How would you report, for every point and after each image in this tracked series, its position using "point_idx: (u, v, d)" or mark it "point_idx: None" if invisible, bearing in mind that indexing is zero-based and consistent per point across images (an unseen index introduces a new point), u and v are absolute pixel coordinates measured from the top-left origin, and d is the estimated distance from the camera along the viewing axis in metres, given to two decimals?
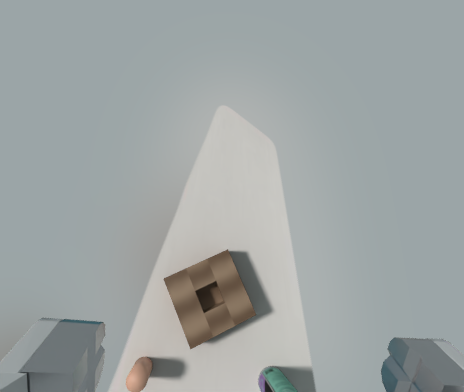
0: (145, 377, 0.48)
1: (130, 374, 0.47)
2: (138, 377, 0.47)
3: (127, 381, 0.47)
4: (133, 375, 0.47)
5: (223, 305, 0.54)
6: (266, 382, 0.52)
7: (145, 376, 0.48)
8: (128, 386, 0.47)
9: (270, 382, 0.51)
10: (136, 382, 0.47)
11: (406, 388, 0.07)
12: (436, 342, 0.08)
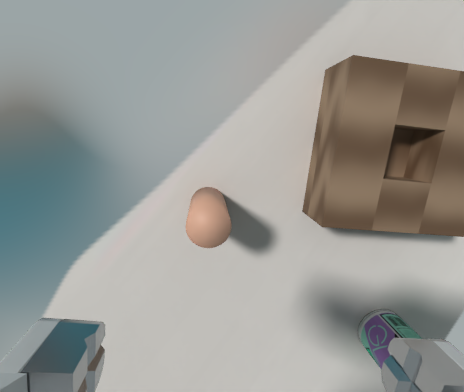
0: (228, 230, 0.21)
1: (202, 208, 0.21)
2: (215, 222, 0.21)
3: (191, 217, 0.21)
4: (207, 214, 0.21)
5: (424, 186, 0.24)
6: None
7: (229, 228, 0.21)
8: (189, 227, 0.21)
9: None
10: (207, 229, 0.21)
11: (406, 388, 0.07)
12: (436, 342, 0.08)
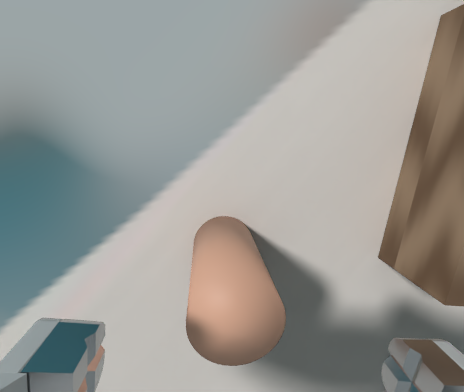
0: (278, 330, 0.10)
1: (225, 286, 0.09)
2: (251, 315, 0.10)
3: (199, 305, 0.09)
4: (236, 297, 0.09)
5: None
6: None
7: (280, 326, 0.10)
8: (194, 326, 0.09)
9: None
10: (233, 328, 0.10)
11: (406, 388, 0.07)
12: (437, 343, 0.08)
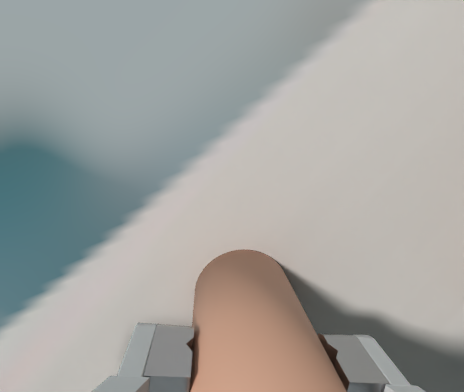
0: None
1: None
2: None
3: None
4: None
5: None
6: None
7: None
8: None
9: None
10: None
11: None
12: (359, 339, 0.07)
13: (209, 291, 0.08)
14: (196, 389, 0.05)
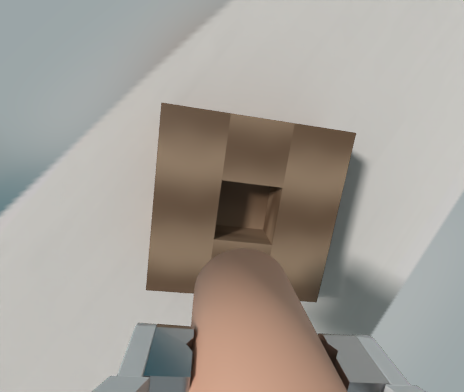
0: None
1: None
2: None
3: None
4: None
5: (264, 247, 0.21)
6: None
7: None
8: None
9: None
10: None
11: None
12: (359, 339, 0.07)
13: (208, 289, 0.08)
14: (195, 387, 0.05)
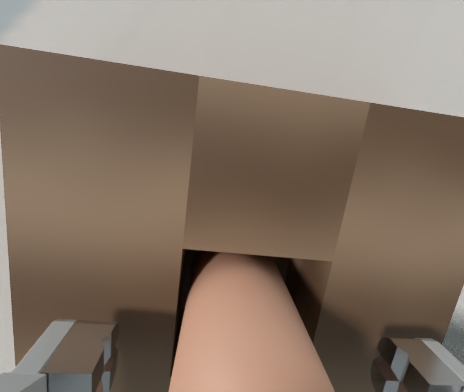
0: None
1: (237, 372, 0.05)
2: None
3: None
4: None
5: None
6: None
7: None
8: None
9: None
10: None
11: (394, 388, 0.07)
12: (425, 342, 0.08)
13: (205, 257, 0.10)
14: (189, 313, 0.07)
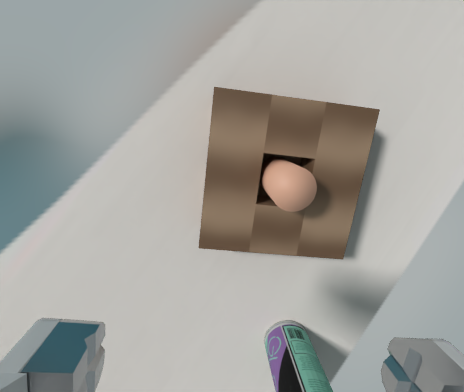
0: (312, 195, 0.21)
1: (291, 170, 0.20)
2: (301, 186, 0.21)
3: (278, 178, 0.20)
4: (295, 176, 0.20)
5: (299, 211, 0.25)
6: (288, 354, 0.29)
7: (313, 193, 0.21)
8: (274, 188, 0.20)
9: (297, 363, 0.28)
10: (292, 192, 0.21)
11: (406, 388, 0.07)
12: (436, 342, 0.08)
13: (267, 163, 0.25)
14: (269, 171, 0.23)
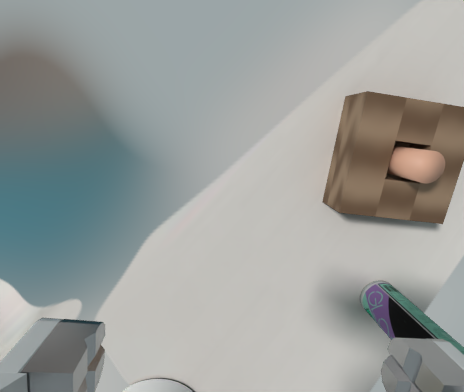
0: (441, 172, 0.29)
1: (429, 153, 0.29)
2: (434, 165, 0.29)
3: (420, 158, 0.29)
4: (431, 157, 0.29)
5: (415, 185, 0.33)
6: (393, 301, 0.37)
7: (441, 171, 0.29)
8: (416, 166, 0.29)
9: (404, 306, 0.36)
10: (427, 169, 0.29)
11: (406, 388, 0.07)
12: (436, 342, 0.08)
13: None
14: (403, 154, 0.31)
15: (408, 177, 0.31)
